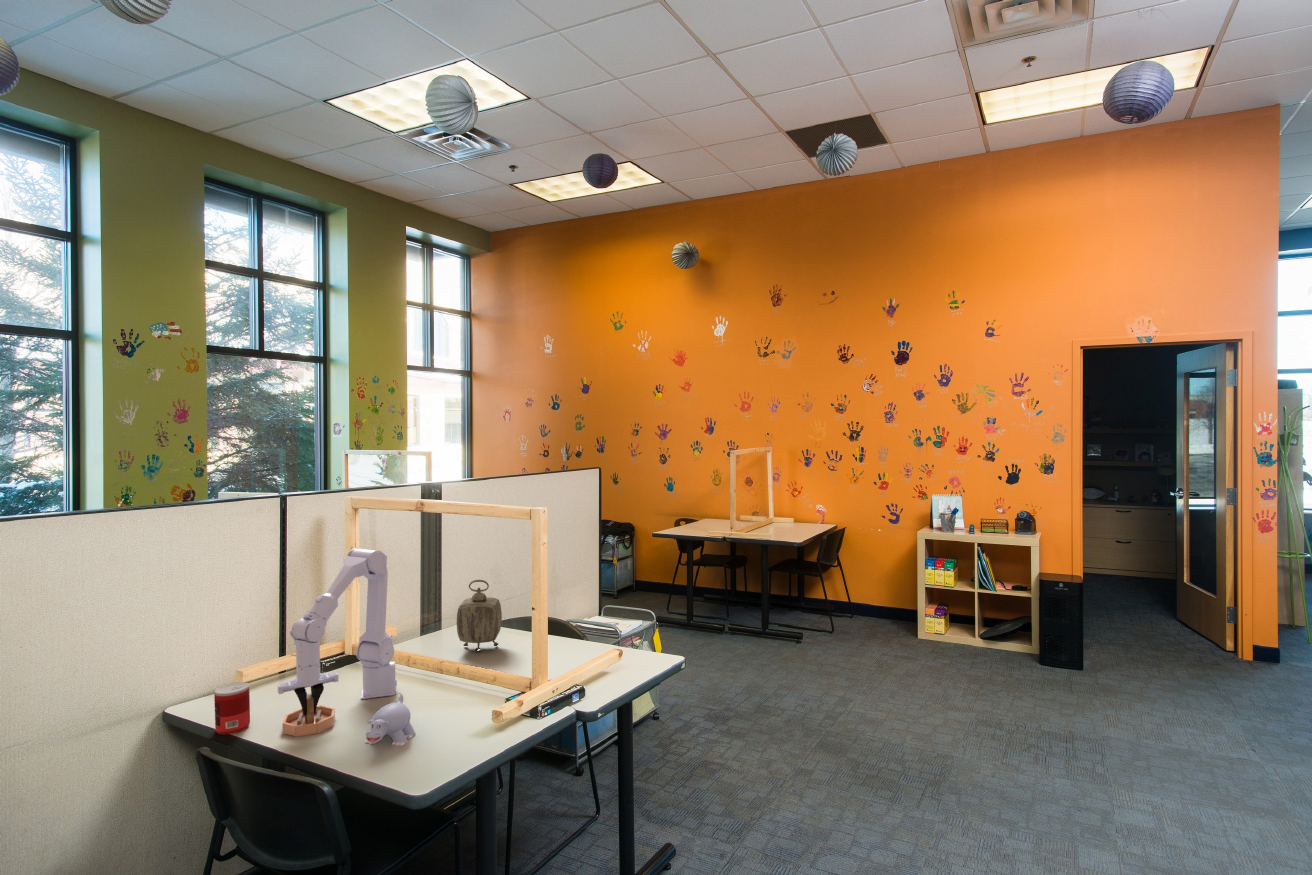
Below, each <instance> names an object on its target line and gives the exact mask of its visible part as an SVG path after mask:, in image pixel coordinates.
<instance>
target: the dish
mask: <svg viewBox="0 0 1312 875" xmlns="http://www.w3.org/2000/svg"><path fill="white" fill-rule="evenodd" d="M335 720H336V708H335V707H331V706H326V705H317V708H316V713H315V714H314V723H311V724H307V723H306V721H305V716H304V715H303V711H302V707H301V708H299V709H296V710H294V711H292V712H289V713H288V714H285V715H284V717H283V720H282V724H281V725H282V734H286V735H290V736H293V737H303V736H309V735H315V734H319V733H321V732H324V731H325V730H327V729H330V728H331V727H334V725H335Z"/></svg>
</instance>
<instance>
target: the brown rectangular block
mask: <svg viewBox="0 0 1312 875" xmlns="http://www.w3.org/2000/svg"><path fill="white" fill-rule="evenodd" d="M306 705H307V715H306V716H305V721H306V723H307V724H311V723H314V701H313V697H312V695H311V693H307V700H306Z"/></svg>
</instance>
